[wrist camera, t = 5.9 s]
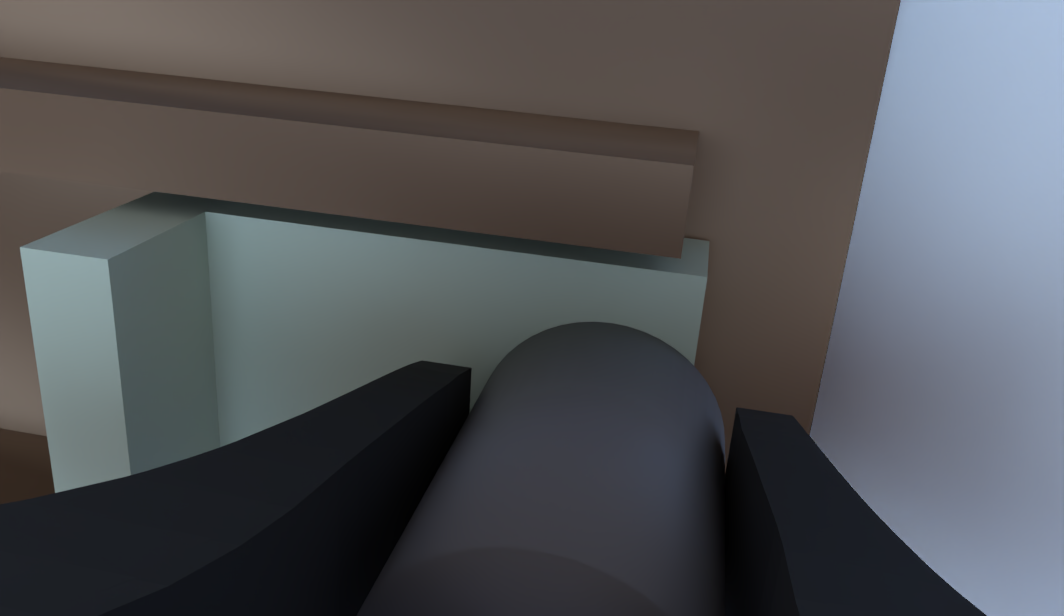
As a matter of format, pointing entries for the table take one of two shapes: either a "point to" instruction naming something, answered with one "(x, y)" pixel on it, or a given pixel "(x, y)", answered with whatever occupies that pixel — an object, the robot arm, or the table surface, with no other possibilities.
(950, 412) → the table surface
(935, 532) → the table surface
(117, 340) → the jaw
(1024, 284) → the table surface
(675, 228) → the base
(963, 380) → the table surface
